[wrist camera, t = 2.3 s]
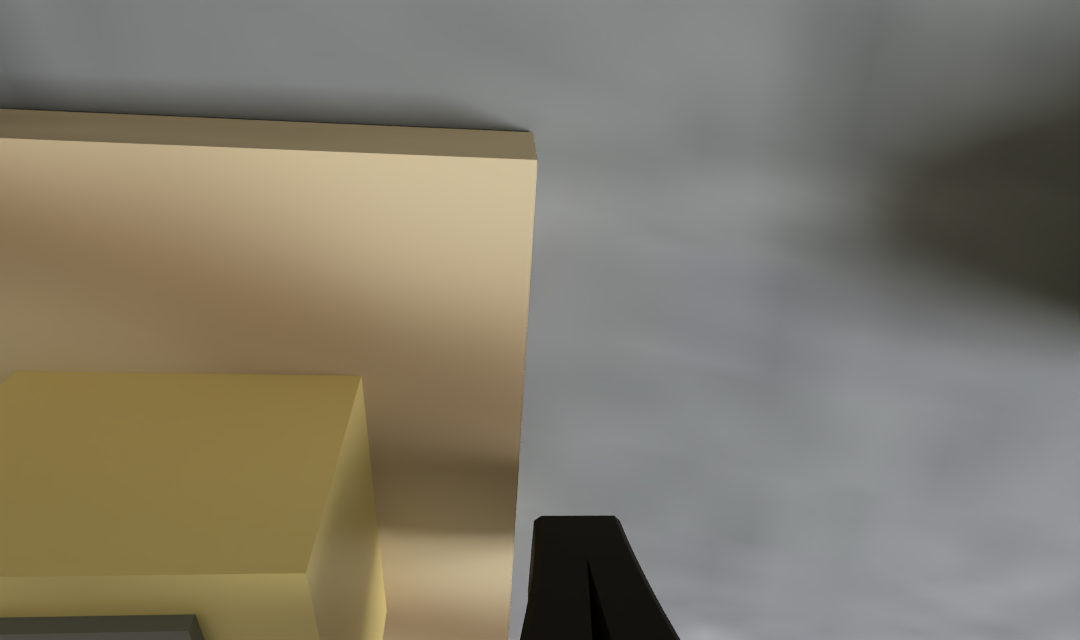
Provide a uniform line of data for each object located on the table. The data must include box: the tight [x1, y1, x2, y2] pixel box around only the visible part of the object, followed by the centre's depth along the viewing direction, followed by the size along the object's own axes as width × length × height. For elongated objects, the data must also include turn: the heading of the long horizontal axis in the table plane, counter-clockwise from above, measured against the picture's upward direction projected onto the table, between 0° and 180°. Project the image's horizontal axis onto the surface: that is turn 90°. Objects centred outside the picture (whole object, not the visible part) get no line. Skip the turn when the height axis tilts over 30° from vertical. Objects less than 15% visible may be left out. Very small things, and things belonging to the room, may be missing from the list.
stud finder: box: [0, 371, 387, 640], centre depth 10 cm, size 6×5×4 cm
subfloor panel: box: [0, 109, 537, 640], centre depth 13 cm, size 19×20×1 cm
